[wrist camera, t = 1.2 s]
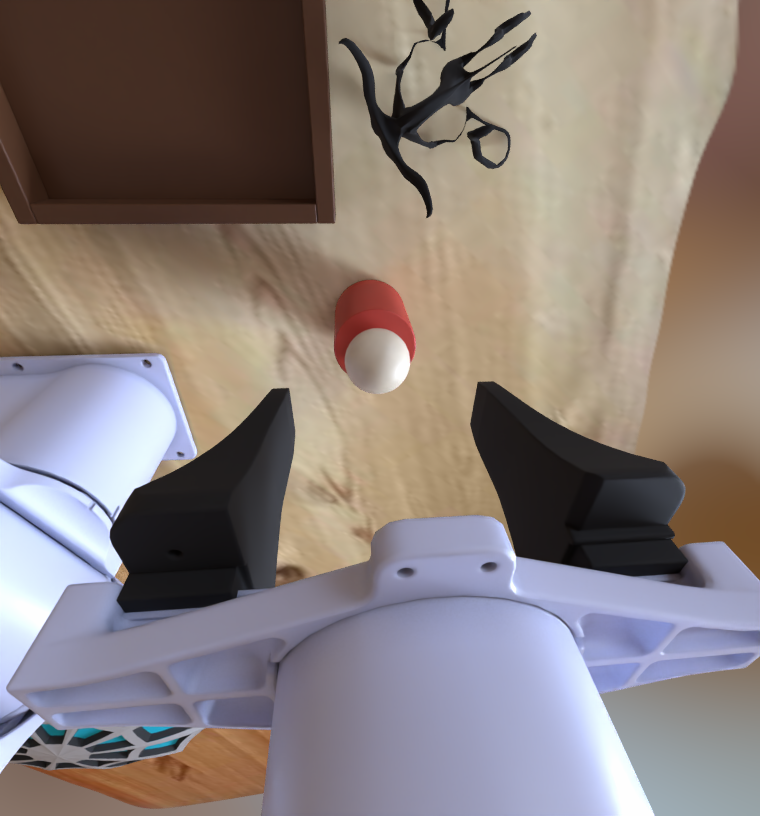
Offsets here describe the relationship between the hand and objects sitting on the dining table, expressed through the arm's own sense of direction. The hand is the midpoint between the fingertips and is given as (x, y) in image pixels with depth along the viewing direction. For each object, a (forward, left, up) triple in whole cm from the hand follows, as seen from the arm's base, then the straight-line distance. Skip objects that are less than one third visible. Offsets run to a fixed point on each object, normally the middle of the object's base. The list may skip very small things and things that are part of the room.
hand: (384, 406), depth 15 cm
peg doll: (0, 0, -9) cm, 9 cm away
